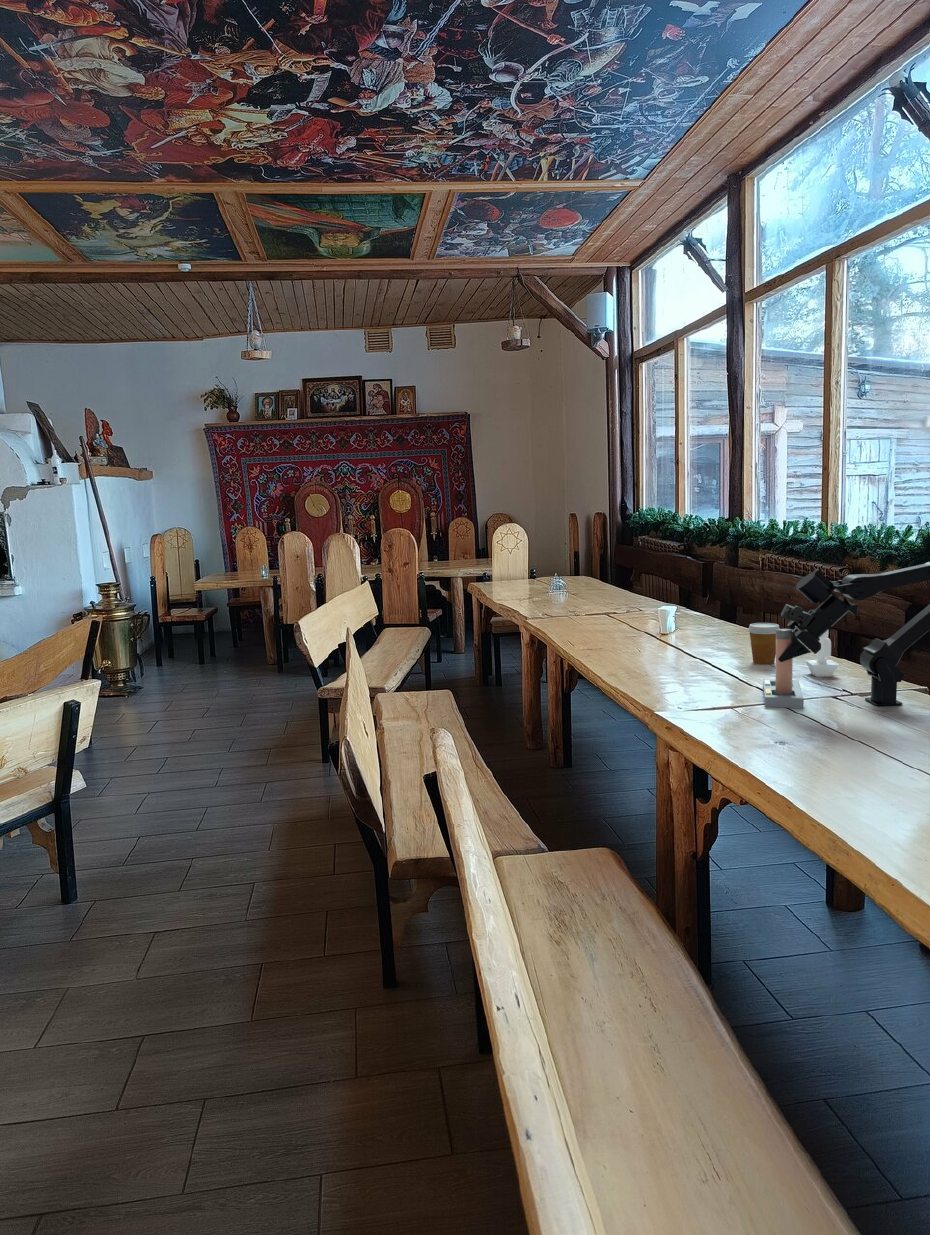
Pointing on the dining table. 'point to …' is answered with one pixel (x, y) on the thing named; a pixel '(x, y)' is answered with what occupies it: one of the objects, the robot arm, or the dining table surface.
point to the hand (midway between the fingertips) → (778, 658)
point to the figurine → (823, 659)
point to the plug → (785, 667)
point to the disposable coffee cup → (763, 642)
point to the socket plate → (782, 695)
